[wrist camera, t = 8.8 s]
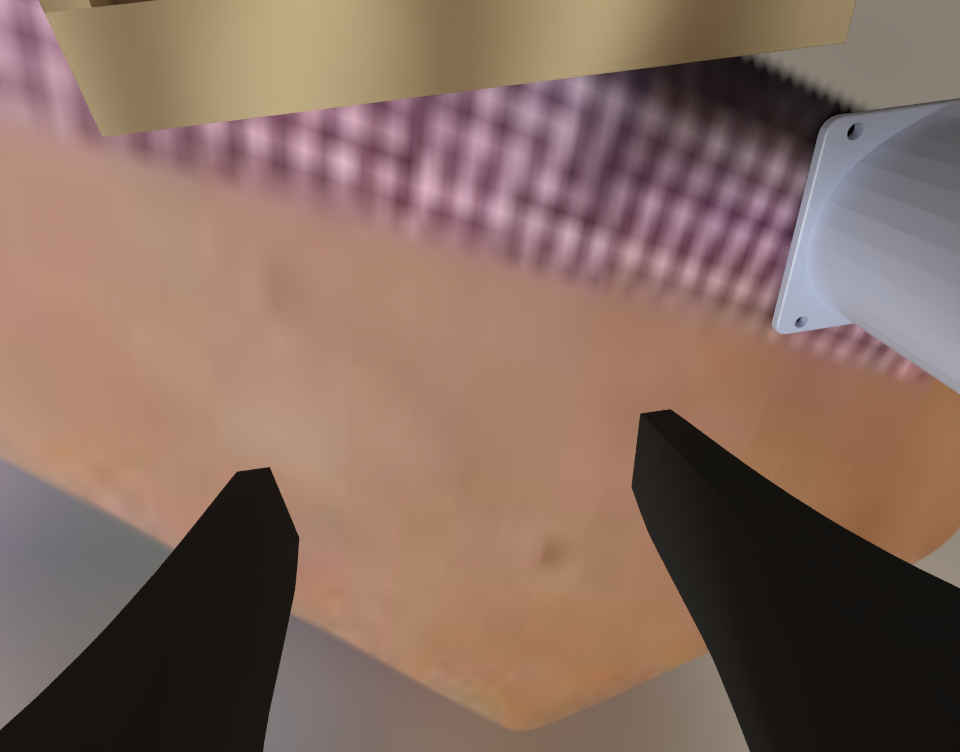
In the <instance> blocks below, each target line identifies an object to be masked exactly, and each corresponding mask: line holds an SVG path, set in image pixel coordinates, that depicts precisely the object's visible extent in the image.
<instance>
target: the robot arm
mask: <svg viewBox="0 0 960 752" xmlns="http://www.w3.org/2000/svg"><path fill="white" fill-rule="evenodd" d="M853 124H855V127H854V130H853V132H852V133H851V134H850V135H849V136H848V137H847V132H848V130H849V128H850V127H851V126H852V125H853ZM799 317H801V318H800V320H799V321H797V322H796V320H797V319H798V318H799ZM853 323H854V324H855V325H857V326H858V327H860V328H861V329H863V330H864V331H866V332H867V333H869V334H870V335H872V336H873V337H875V338H876V339H878V340H879V341H881V342H882V343H884V344H885V345H887V346H888V347H890V348H891V349H893V350H894V351H896V352H897V353H899V354H900V355H902V356H903V357H905V358H906V359H908V360H909V361H911V362H912V363H914V364H915V365H917V366H918V367H920V368H921V369H923V370H924V371H926V372H927V373H929V374H930V375H932V376H933V377H935V378H936V379H938V380H939V381H941V382H942V383H944V384H945V385H947V386H948V387H950V388H951V389H953V390H954V391H956V392H957V393H959V394H960V98H958V99H952V100H944V101H937V102H929V103H922V104H914V105H906V106H899V107H892V108H884V109H877V110H869V111H862V112H854V113H847V114H839V115H835V116H832V117H831V118H829V119H828V120H827V121H825V123H824V124H823V125H822V127H821V129H820V131H819V134H818V138H817V142H816V146H815V150H814V154H813V158H812V162H811V166H810V170H809V174H808V178H807V182H806V186H805V191H804V195H803V199H802V203H801V207H800V211H799V215H798V219H797V223H796V227H795V231H794V235H793V239H792V243H791V247H790V251H789V255H788V260H787V264H786V268H785V272H784V276H783V280H782V284H781V288H780V292H779V296H778V300H777V304H776V308H775V312H774V316H773V320H772V326H773V328H774V329H775V330H776V331H777V332H779V333H781V334H790V333H796V332H802V331H809V330H815V329H821V328H828V327H834V326H841V325H847V324H853ZM632 490H633V492H634V495H635V498H636V501H637V504H638V506H639V509H640V512H641V515H642V517H643V520H644V522H645V525H646V528H647V530H648V533H649V535H650V537H651V539H652V541H653V543H654V545H655V547H656V549H657V551H658V553H659V555H660V557H661V559H662V560H663V562H664V564H665V566H666V568H667V570H668V572H669V574H670V576H671V578H672V580H673V582H674V584H675V586H676V587H677V589H678V591H679V593H680V595H681V597H682V599H683V601H684V603H685V605H686V607H687V609H688V610H689V612H690V614H691V616H692V618H693V620H694V622H695V624H696V626H697V628H698V630H699V632H700V633H701V635H702V637H703V639H704V641H705V644H706V646H707V648H708V650H709V652H710V654H711V656H712V658H713V660H714V663H715V665H716V667H717V670H718V672H719V675H720V677H721V680H722V682H723V684H724V687H725V689H726V692H727V694H728V697H729V699H730V702H731V704H732V707H733V709H734V711H735V714H736V716H737V719H738V722H739V724H740V727H741V729H742V732H743V734H744V737H745V740H746V742H747V745H748V747H749V750H750V752H960V588H958V587H956V586H954V585H952V584H950V583H948V582H946V581H944V580H942V579H940V578H938V577H935V576H933V575H931V574H929V573H927V572H925V571H923V570H921V569H919V568H917V567H915V566H913V565H911V564H909V563H907V562H905V561H903V560H902V559H900V558H898V557H896V556H894V555H892V554H890V553H888V552H887V551H885V550H883V549H881V548H879V547H878V546H876V545H874V544H872V543H870V542H868V541H867V540H865V539H863V538H861V537H859V536H858V535H856V534H854V533H852V532H850V531H849V530H847V529H845V528H843V527H842V526H840V525H838V524H837V523H835V522H833V521H832V520H830V519H828V518H827V517H825V516H823V515H822V514H820V513H819V512H817V511H815V510H814V509H812V508H811V507H809V506H808V505H806V504H804V503H803V502H801V501H800V500H798V499H796V498H795V497H793V496H792V495H790V494H789V493H787V492H786V491H784V490H783V489H781V488H780V487H778V486H777V485H775V484H774V483H772V482H771V481H769V480H768V479H766V478H765V477H763V476H762V475H760V474H759V473H758V472H756V471H755V470H753V469H752V468H750V467H749V466H748V465H746V464H745V463H743V462H742V461H741V460H739V459H738V458H736V457H735V456H734V455H732V454H731V453H729V452H728V451H727V450H725V449H724V448H723V447H721V446H720V445H719V444H717V443H716V442H714V441H713V440H712V439H710V438H709V437H708V436H706V435H705V434H704V433H702V432H701V431H700V430H698V429H697V428H696V427H694V426H693V425H692V424H690V423H689V422H687V421H686V420H685V419H683V418H682V417H681V416H679V415H678V414H676V413H675V412H674V411H672V410H671V409H669V410H662V411H655V412H648V413H641V414H640V421H639V429H638V438H637V446H636V454H635V463H634V471H633V479H632ZM298 548H299V536H298V534H297V531H296V529H295V526H294V524H293V522H292V519H291V517H290V514H289V512H288V510H287V507H286V505H285V503H284V500H283V498H282V495H281V493H280V491H279V488H278V486H277V483H276V481H275V479H274V476H273V474H272V471H271V469H270V467H267V468H260V469H253V470H246V471H239V472H236V474H235V475H234V476H233V477H232V478H231V480H230V481H229V482H228V483H227V485H226V486H225V487H224V488H223V490H222V491H221V492H220V493H219V495H218V496H217V497H216V498H215V500H214V501H213V502H212V503H211V505H210V506H209V507H208V508H207V510H206V511H205V512H204V513H203V515H202V516H201V517H200V518H199V520H198V521H197V522H196V523H195V525H194V526H193V527H192V528H191V530H190V531H189V532H188V533H187V535H186V536H185V537H184V538H183V540H182V541H181V542H180V543H179V544H178V546H177V547H176V548H175V549H174V551H173V552H172V553H171V554H170V555H169V557H168V558H167V559H166V560H165V562H164V563H163V564H162V565H161V566H160V568H159V569H158V570H157V571H156V572H155V574H154V575H153V576H152V577H151V578H150V579H149V580H148V581H147V583H146V584H145V585H144V586H143V587H142V588H141V589H140V590H139V592H138V593H137V594H136V595H135V596H134V597H133V598H132V599H131V601H130V602H129V603H128V604H127V605H126V606H125V607H124V608H123V610H122V611H121V612H120V613H119V614H118V615H117V616H116V617H115V619H114V620H113V621H112V622H111V623H110V624H109V625H108V626H107V627H106V628H105V629H104V630H103V632H102V633H101V634H100V635H99V636H98V637H97V638H96V639H95V640H94V641H93V642H92V643H91V644H90V645H89V646H88V647H87V648H86V649H85V650H84V651H83V652H82V653H81V654H80V655H79V656H78V657H77V658H76V659H75V660H74V661H73V662H72V663H71V664H70V665H69V666H68V667H67V668H66V669H65V670H64V671H63V672H62V673H61V674H60V675H59V676H58V677H57V678H56V679H55V680H54V681H53V682H52V683H51V684H50V685H49V686H48V687H47V688H46V689H45V690H44V691H43V692H42V693H40V694H39V696H37V697H36V698H35V699H34V700H33V701H32V702H31V703H30V704H29V705H28V706H26V707H25V708H24V709H23V710H22V711H21V712H20V713H19V714H18V715H17V716H15V717H14V718H13V719H12V720H11V721H10V722H9V723H8V724H6V725H5V726H4V727H3V728H2V729H1V730H0V752H263V747H264V740H265V734H266V728H267V722H268V716H269V711H270V706H271V702H272V697H273V692H274V687H275V683H276V678H277V673H278V669H279V664H280V659H281V655H282V650H283V645H284V641H285V636H286V631H287V626H288V622H289V616H290V612H291V607H292V602H293V597H294V592H295V584H296V574H297V562H298Z"/></svg>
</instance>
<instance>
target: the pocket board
mask: <svg viewBox="0 0 960 752" xmlns="http://www.w3.org/2000/svg"><path fill="white" fill-rule="evenodd" d="M39 2H40V4H41V7H42V9H43V11H44V13H45V15H46V17H47V19H48V21H49V24H50V26H51V28H52V30H53V32H54V34H55V36H56V39H57V41H58V43H59V45H60V47H61V49H62V51H63V54H64V56H65V58H66V60H67V62H68V64H69V66H70V69H71V71H72V73H73V75H74V77H75V79H76V81H77V84H78V86H79V88H80V90H81V92H82V94H83V96H84V99H85V101H86V103H87V105H88V107H89V109H90V111H91V114H92V116H93V118H94V120H95V122H96V124H97V126H98V129H99V131H100V133H101V135H102V137H107V136H115V135H123V134H130V133H138V132H146V131H154V130H162V129H170V128H178V127H186V126H193V125H201V124H209V123H217V122H225V121H233V120H241V119H249V118H256V117H264V116H272V115H280V114H288V113H296V112H304V111H311V110H319V109H327V108H335V107H343V106H351V105H359V104H367V103H374V102H382V101H390V100H398V99H406V98H414V97H422V96H430V95H437V94H445V93H453V92H461V91H469V90H477V89H485V88H493V87H500V86H508V85H516V84H524V83H532V82H540V81H548V80H555V79H563V78H571V77H579V76H587V75H595V74H603V73H611V72H618V71H626V70H634V69H642V68H650V67H658V66H666V65H674V64H681V63H689V62H697V61H705V60H713V59H721V58H729V57H736V56H744V55H752V54H760V53H768V52H776V51H784V50H792V49H799V48H807V47H815V46H823V45H831V44H838V43H845V42H846V39H847V35H848V31H849V26H850V23H851V19H852V15H853V11H854V6H855V3H856V0H39Z"/></svg>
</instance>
